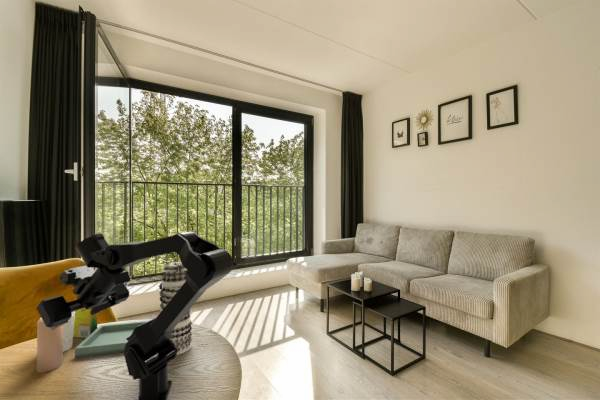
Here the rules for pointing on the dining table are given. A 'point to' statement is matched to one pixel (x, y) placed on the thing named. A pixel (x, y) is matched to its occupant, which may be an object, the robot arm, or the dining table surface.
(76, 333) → the crayon box
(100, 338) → the tray
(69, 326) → the white cup
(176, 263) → the decorative candle
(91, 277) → the robot arm
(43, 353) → the peach rounded cone
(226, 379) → the dining table surface
